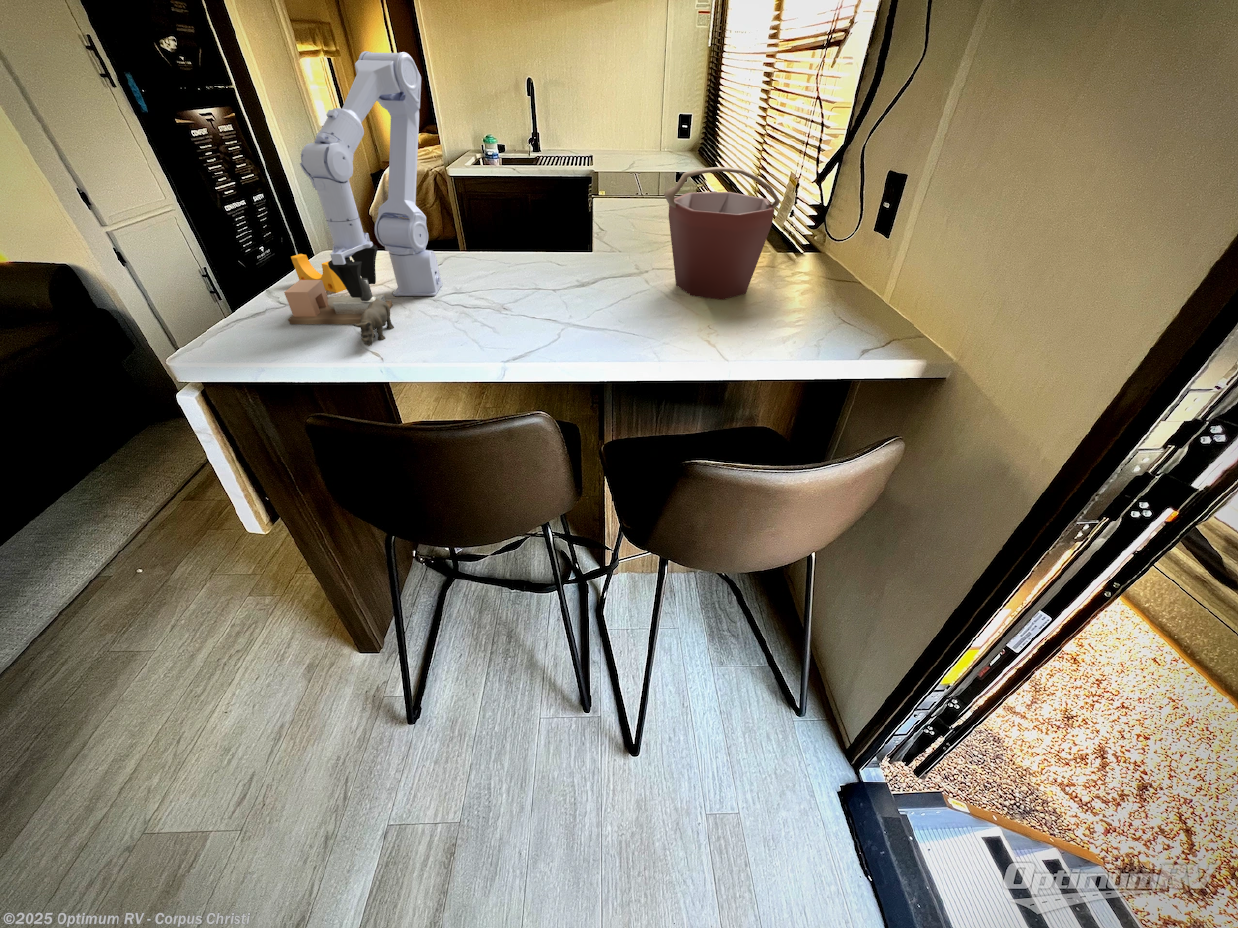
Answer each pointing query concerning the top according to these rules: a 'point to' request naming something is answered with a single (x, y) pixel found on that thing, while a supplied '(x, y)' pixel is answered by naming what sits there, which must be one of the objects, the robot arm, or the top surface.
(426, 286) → the robot arm
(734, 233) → the bucket
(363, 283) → the bolt
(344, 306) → the channel
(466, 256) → the top surface
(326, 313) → the board
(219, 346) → the top surface
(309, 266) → the orange piece
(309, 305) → the socket
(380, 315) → the rhino figurine
